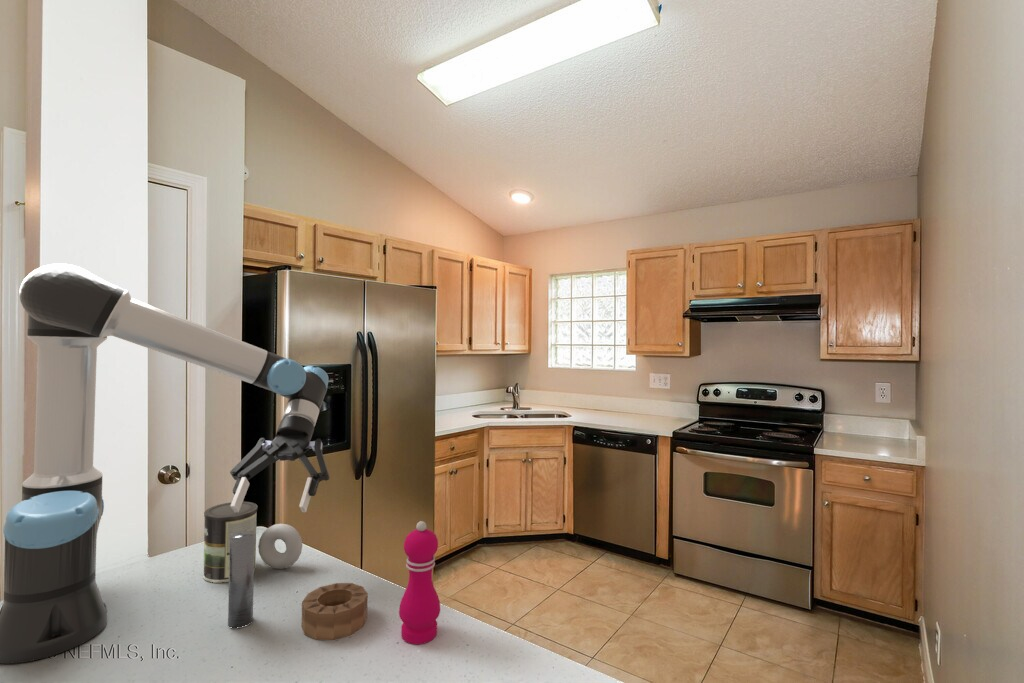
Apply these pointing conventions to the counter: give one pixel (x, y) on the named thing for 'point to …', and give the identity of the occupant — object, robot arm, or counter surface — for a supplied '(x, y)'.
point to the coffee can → (224, 537)
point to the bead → (334, 611)
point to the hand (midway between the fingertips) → (268, 509)
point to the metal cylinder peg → (241, 579)
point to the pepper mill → (420, 588)
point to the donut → (269, 550)
